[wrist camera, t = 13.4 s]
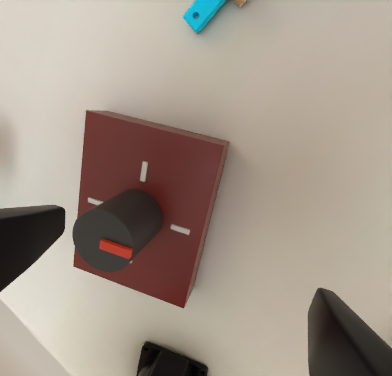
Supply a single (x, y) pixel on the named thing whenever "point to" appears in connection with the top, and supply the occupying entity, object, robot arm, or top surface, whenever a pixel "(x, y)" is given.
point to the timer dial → (117, 230)
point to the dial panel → (154, 195)
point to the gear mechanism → (204, 12)
